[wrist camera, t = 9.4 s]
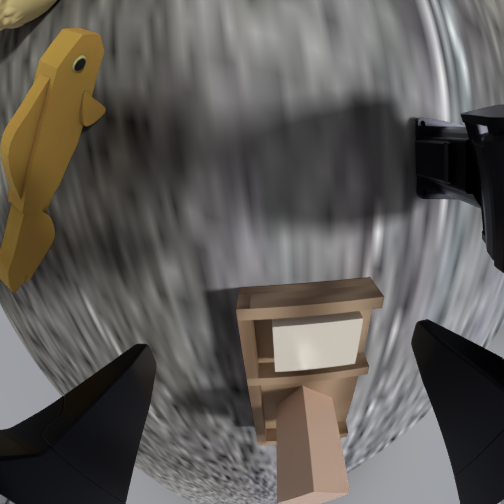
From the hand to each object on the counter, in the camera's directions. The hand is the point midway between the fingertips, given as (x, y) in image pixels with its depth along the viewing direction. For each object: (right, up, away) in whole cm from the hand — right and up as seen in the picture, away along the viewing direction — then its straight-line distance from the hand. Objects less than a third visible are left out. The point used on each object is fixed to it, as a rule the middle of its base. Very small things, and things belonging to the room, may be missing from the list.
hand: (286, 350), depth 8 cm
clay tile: (+4, -4, +14) cm, 15 cm away
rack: (+4, -9, +18) cm, 20 cm away
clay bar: (+5, -13, +18) cm, 23 cm away
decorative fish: (-17, +10, +11) cm, 23 cm away
